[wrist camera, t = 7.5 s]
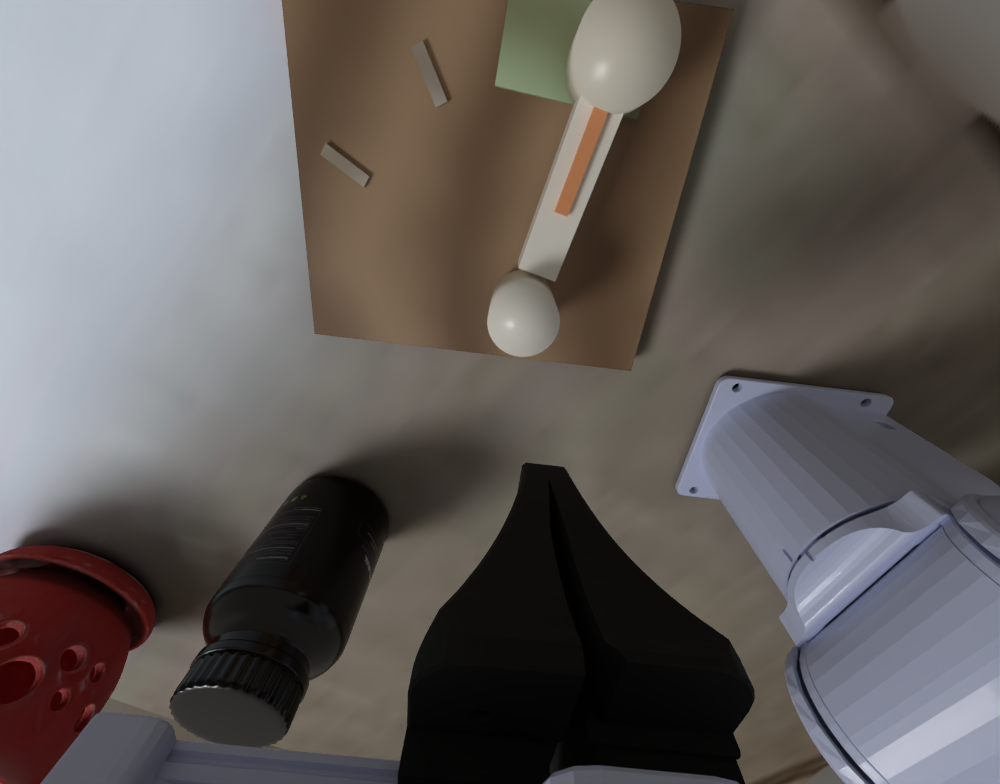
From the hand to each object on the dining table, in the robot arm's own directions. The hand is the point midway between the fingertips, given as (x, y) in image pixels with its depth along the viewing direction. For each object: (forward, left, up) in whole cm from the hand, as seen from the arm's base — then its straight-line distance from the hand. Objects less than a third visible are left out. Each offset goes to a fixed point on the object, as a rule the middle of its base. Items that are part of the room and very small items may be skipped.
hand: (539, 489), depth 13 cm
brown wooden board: (+3, -8, -10) cm, 13 cm away
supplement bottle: (+11, +12, -10) cm, 19 cm away
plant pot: (+31, +23, -10) cm, 40 cm away
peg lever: (0, -8, -8) cm, 12 cm away
